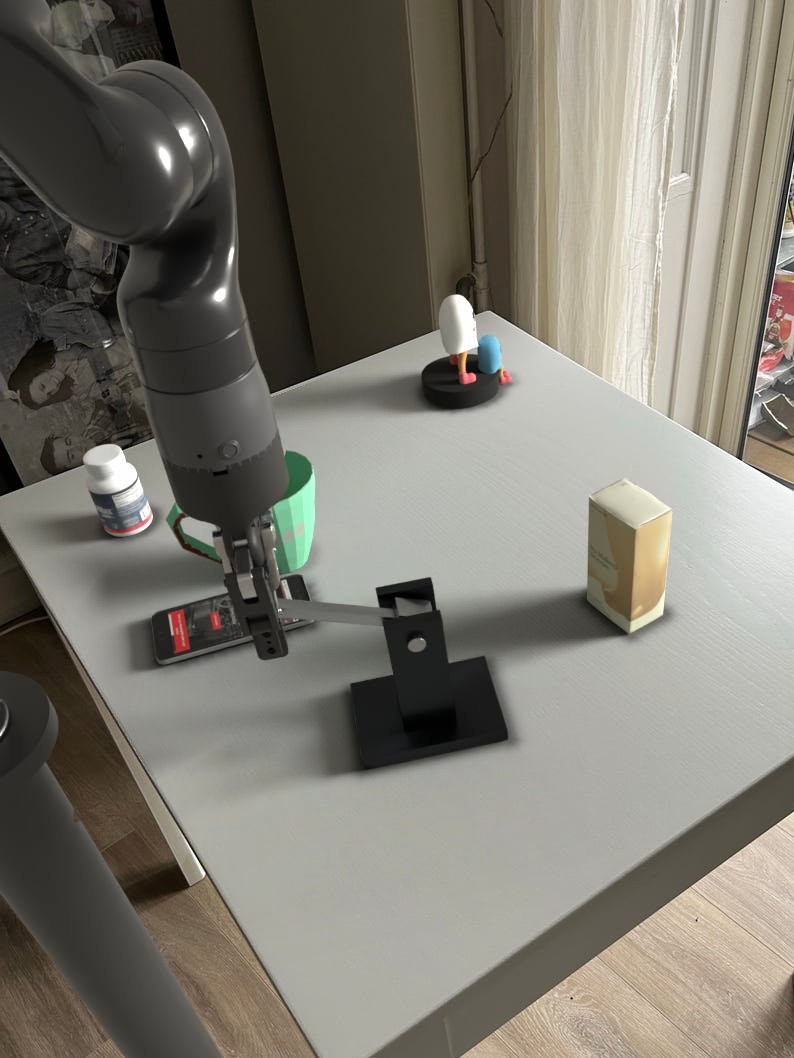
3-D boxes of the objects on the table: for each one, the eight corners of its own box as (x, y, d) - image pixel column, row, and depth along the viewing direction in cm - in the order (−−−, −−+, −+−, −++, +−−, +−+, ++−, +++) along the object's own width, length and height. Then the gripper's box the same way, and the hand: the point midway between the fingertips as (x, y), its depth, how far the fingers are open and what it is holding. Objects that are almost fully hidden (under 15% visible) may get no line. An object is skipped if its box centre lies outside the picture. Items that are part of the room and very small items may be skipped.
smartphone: (149, 613, 95) (301, 572, 98) (151, 618, 95) (303, 577, 98) (156, 662, 90) (316, 617, 92) (158, 668, 90) (318, 623, 93)
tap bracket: (364, 770, 80) (335, 658, 71) (352, 692, 86) (324, 580, 77) (508, 739, 81) (497, 625, 72) (485, 664, 87) (473, 551, 78)
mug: (319, 519, 105) (300, 438, 98) (343, 572, 98) (324, 489, 91) (183, 558, 102) (153, 478, 95) (198, 616, 95) (167, 533, 88)
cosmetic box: (585, 601, 92) (584, 493, 84) (620, 581, 94) (622, 474, 85) (631, 637, 88) (634, 528, 80) (667, 616, 90) (674, 507, 81)
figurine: (520, 397, 120) (514, 303, 112) (431, 415, 119) (419, 321, 111) (501, 362, 127) (494, 271, 119) (417, 378, 126) (404, 287, 117)
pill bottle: (96, 524, 108) (67, 455, 102) (139, 503, 110) (112, 434, 104) (119, 544, 105) (89, 474, 99) (162, 522, 107) (136, 452, 101)
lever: (255, 643, 71) (260, 617, 69) (252, 594, 75) (257, 569, 73) (430, 656, 75) (438, 632, 74) (418, 610, 79) (426, 586, 78)
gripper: (160, 385, 67) (220, 577, 78) (152, 505, 56) (223, 706, 68) (270, 368, 68) (314, 560, 79) (283, 483, 57) (331, 685, 69)
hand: (272, 627), depth 74 cm, fingers closed on lever, 5 cm apart
